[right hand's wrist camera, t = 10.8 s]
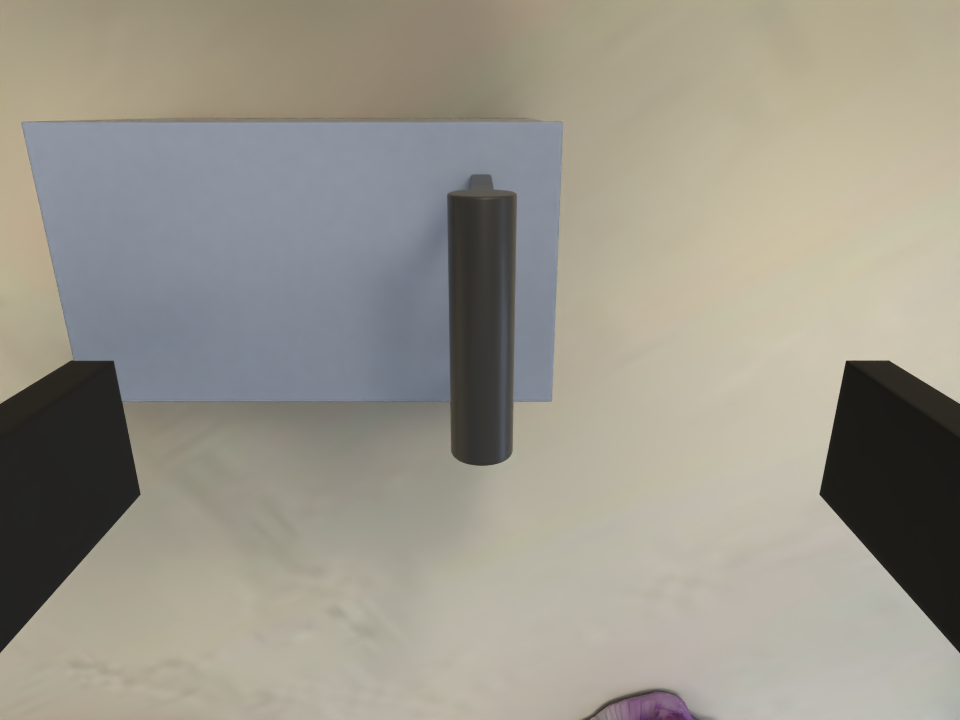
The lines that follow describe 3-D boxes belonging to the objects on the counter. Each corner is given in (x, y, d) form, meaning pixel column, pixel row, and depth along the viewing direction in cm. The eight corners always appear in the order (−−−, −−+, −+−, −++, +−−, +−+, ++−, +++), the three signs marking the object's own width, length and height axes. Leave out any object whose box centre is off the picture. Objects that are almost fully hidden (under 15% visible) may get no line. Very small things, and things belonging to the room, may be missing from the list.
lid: (558, 121, 24) (603, 127, 15) (548, 389, 27) (580, 515, 19) (43, 121, 24) (-201, 126, 15) (99, 389, 27) (-73, 516, 19)
